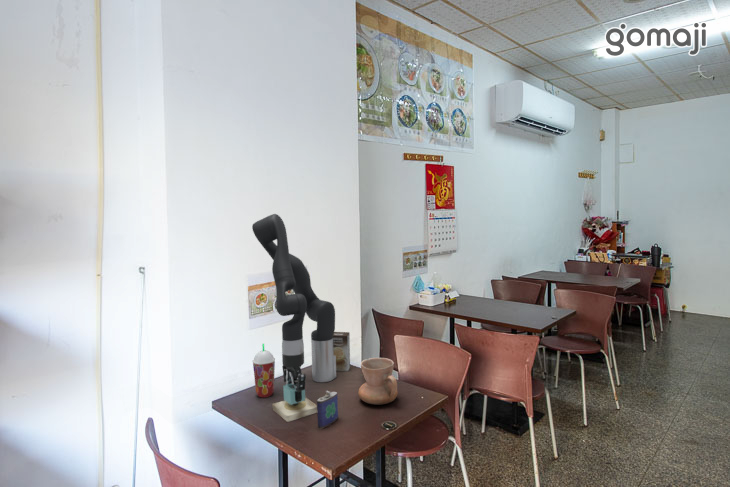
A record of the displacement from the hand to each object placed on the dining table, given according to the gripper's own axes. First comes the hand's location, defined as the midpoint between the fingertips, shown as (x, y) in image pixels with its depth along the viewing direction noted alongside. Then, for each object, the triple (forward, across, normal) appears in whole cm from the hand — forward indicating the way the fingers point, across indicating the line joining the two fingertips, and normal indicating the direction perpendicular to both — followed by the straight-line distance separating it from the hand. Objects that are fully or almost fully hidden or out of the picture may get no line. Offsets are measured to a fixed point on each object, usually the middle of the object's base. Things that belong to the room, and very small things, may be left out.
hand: (294, 397), depth 149 cm
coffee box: (+5, +26, -34) cm, 43 cm away
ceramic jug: (+5, -12, -28) cm, 31 cm away
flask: (+5, -15, -5) cm, 16 cm away
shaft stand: (+5, 0, 0) cm, 5 cm away
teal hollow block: (+1, 0, 0) cm, 1 cm away
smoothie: (+5, +20, +3) cm, 21 cm away
